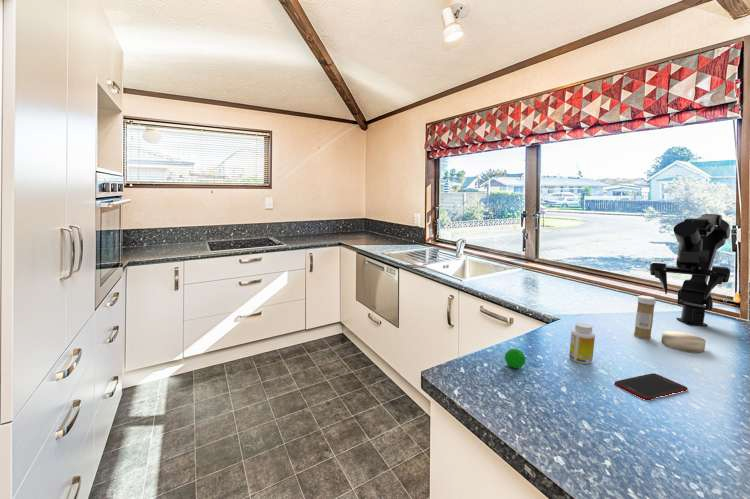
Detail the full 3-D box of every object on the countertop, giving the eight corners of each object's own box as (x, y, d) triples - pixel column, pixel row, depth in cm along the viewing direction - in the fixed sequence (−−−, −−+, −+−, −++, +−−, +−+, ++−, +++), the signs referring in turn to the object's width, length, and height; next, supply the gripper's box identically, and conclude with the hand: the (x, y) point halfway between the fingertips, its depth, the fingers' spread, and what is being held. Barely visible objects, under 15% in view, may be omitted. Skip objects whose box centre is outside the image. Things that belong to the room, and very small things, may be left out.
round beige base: (654, 338, 112) (655, 329, 112) (689, 341, 111) (690, 332, 110) (674, 351, 103) (675, 341, 102) (713, 354, 101) (714, 344, 100)
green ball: (511, 372, 89) (512, 354, 88) (500, 363, 94) (501, 346, 93) (528, 370, 90) (530, 353, 89) (517, 362, 95) (518, 345, 94)
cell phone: (689, 391, 82) (689, 388, 81) (646, 402, 77) (646, 398, 77) (653, 376, 89) (654, 372, 89) (612, 385, 84) (612, 381, 84)
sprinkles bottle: (653, 337, 113) (658, 297, 111) (647, 340, 111) (652, 299, 109) (636, 332, 117) (641, 294, 115) (630, 335, 115) (635, 296, 113)
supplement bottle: (596, 362, 95) (600, 326, 94) (583, 366, 93) (587, 330, 91) (577, 354, 100) (580, 320, 99) (564, 357, 98) (567, 323, 96)
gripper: (652, 238, 114) (646, 281, 109) (733, 241, 102) (731, 290, 97) (653, 254, 122) (647, 294, 117) (729, 259, 109) (726, 305, 104)
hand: (685, 295), depth 108 cm, fingers open, 9 cm apart
